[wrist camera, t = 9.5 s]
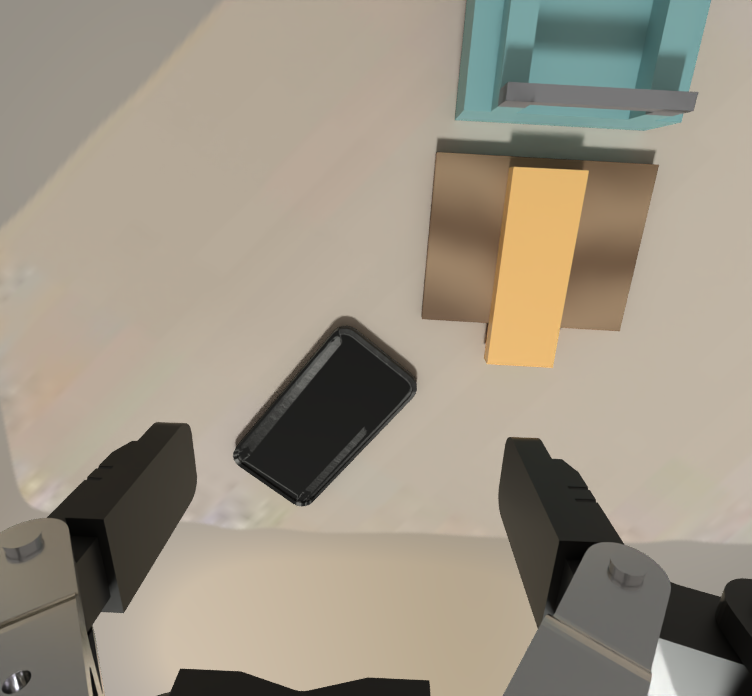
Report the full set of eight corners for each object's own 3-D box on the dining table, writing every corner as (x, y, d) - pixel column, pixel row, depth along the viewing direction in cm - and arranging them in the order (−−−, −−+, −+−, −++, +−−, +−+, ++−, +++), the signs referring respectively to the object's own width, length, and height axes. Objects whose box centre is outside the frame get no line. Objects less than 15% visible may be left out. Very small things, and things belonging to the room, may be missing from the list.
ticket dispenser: (474, -75, 26) (504, -173, 19) (687, -64, 26) (798, -159, 19) (454, 120, 30) (474, 98, 23) (644, 130, 30) (725, 112, 22)
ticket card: (509, 167, 30) (513, 166, 29) (581, 171, 30) (589, 170, 29) (484, 358, 34) (487, 364, 33) (547, 361, 34) (552, 367, 33)
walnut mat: (436, 153, 30) (437, 152, 30) (652, 165, 30) (659, 164, 29) (421, 316, 34) (422, 318, 33) (614, 327, 34) (619, 331, 33)
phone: (227, 458, 38) (342, 322, 34) (232, 450, 39) (344, 318, 35) (305, 511, 39) (424, 388, 35) (307, 503, 40) (423, 382, 36)
